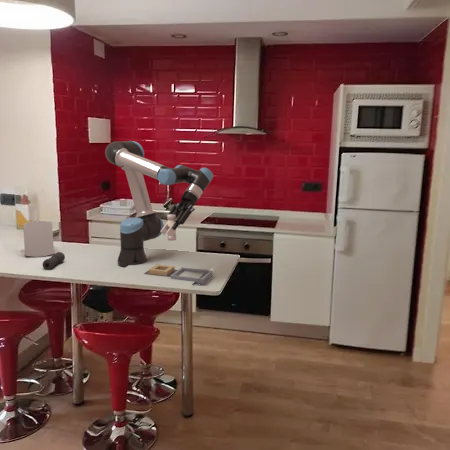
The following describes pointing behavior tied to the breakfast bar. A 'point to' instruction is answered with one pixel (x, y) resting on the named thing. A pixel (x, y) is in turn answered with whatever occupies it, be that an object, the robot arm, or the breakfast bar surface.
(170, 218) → the fuse
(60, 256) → the flashlight
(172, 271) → the yellow rectangular tray
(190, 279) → the grey rectangular frame
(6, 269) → the breakfast bar surface
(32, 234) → the electrical switch box
